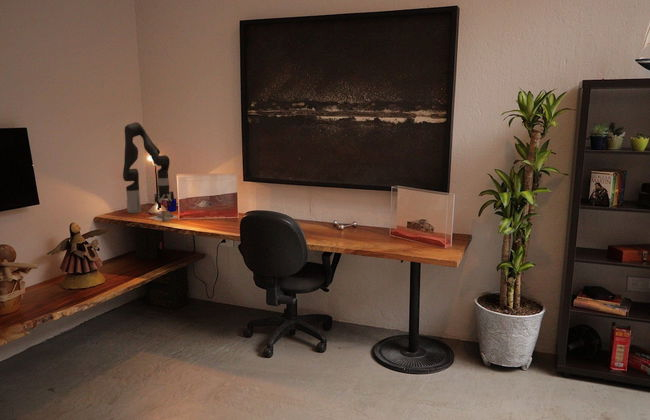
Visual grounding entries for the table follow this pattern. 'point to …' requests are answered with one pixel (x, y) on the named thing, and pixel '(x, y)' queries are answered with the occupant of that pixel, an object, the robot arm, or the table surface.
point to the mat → (160, 218)
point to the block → (165, 215)
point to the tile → (161, 215)
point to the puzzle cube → (166, 205)
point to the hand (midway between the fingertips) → (164, 207)
